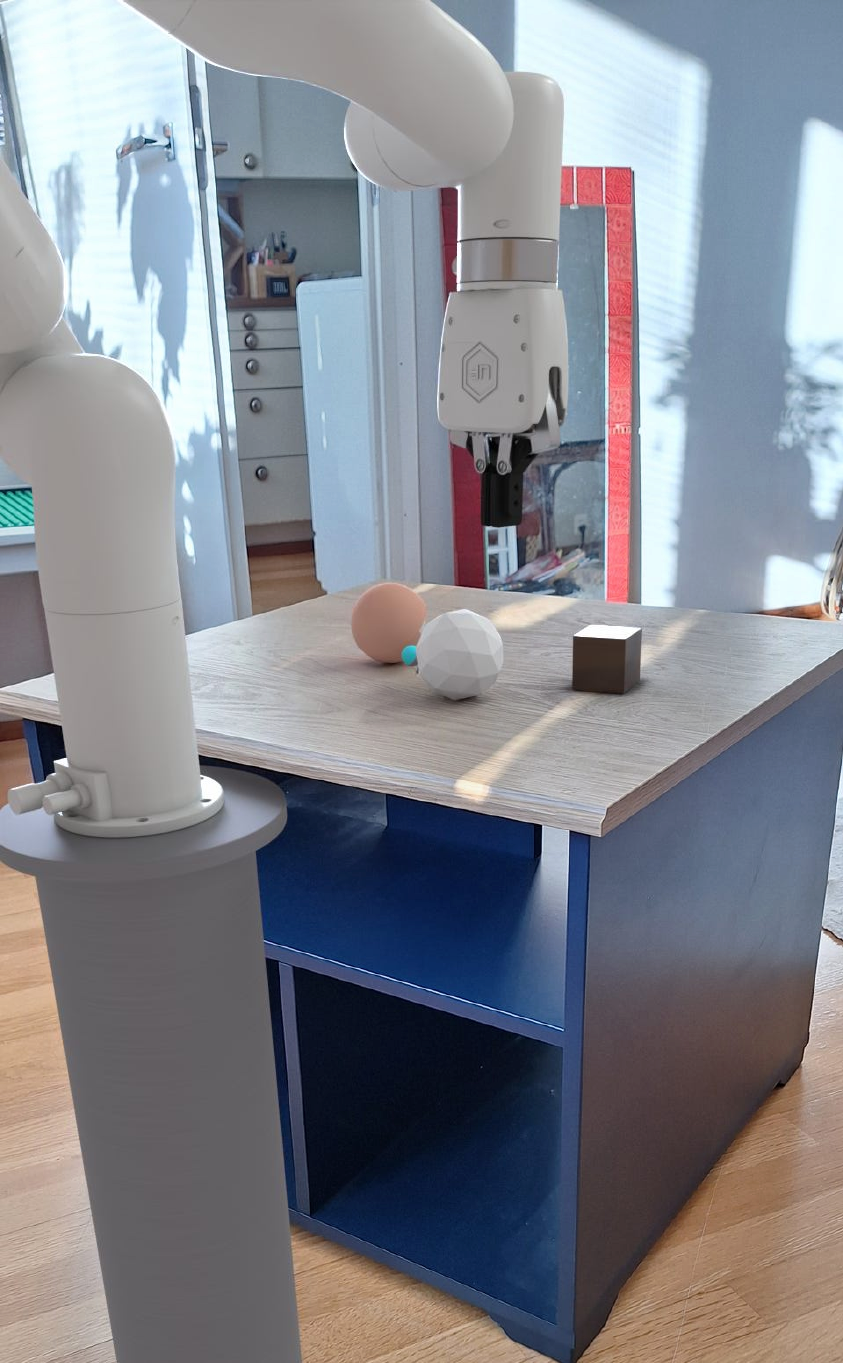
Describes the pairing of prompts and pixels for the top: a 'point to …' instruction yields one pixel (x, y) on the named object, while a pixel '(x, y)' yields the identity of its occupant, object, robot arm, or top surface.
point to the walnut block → (606, 659)
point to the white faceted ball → (457, 654)
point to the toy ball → (388, 621)
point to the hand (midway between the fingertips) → (501, 524)
